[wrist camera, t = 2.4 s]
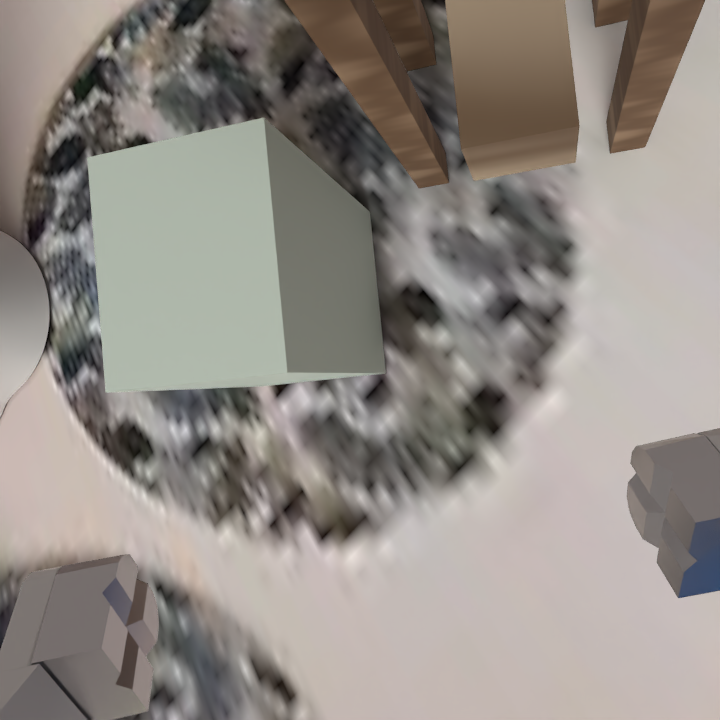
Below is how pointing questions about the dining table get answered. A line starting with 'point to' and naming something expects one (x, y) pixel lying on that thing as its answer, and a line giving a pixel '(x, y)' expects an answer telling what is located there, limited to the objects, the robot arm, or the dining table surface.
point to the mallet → (513, 85)
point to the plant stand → (416, 49)
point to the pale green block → (230, 265)
